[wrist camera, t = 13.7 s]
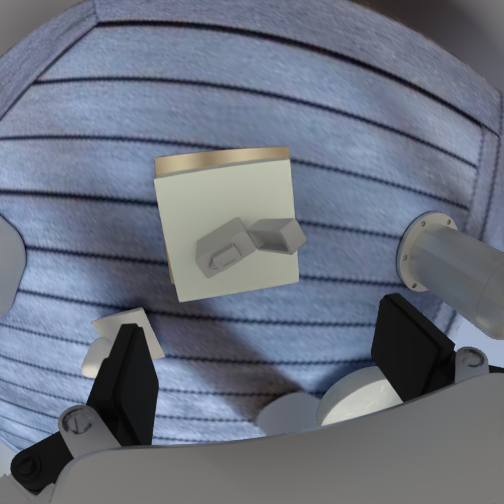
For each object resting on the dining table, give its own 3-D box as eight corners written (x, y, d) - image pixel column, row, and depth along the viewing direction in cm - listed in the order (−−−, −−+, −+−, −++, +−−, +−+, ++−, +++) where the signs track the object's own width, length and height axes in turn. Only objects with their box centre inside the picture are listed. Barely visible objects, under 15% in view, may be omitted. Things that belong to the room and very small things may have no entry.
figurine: (124, 355, 39) (103, 437, 25) (96, 299, 35) (54, 375, 21) (170, 346, 39) (162, 432, 25) (145, 287, 36) (118, 366, 22)
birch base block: (277, 146, 33) (289, 146, 28) (281, 254, 37) (292, 270, 33) (161, 156, 31) (154, 158, 27) (175, 265, 36) (171, 283, 31)
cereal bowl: (294, 384, 45) (306, 415, 38) (385, 335, 45) (407, 360, 38) (323, 429, 51) (335, 456, 44) (397, 389, 51) (413, 412, 44)
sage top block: (275, 157, 28) (289, 159, 24) (285, 262, 32) (299, 281, 28) (162, 173, 27) (153, 179, 23) (182, 279, 31) (179, 302, 27)
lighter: (206, 258, 26) (208, 305, 18) (195, 241, 25) (192, 283, 17) (279, 214, 25) (311, 245, 18) (269, 197, 25) (298, 220, 17)
